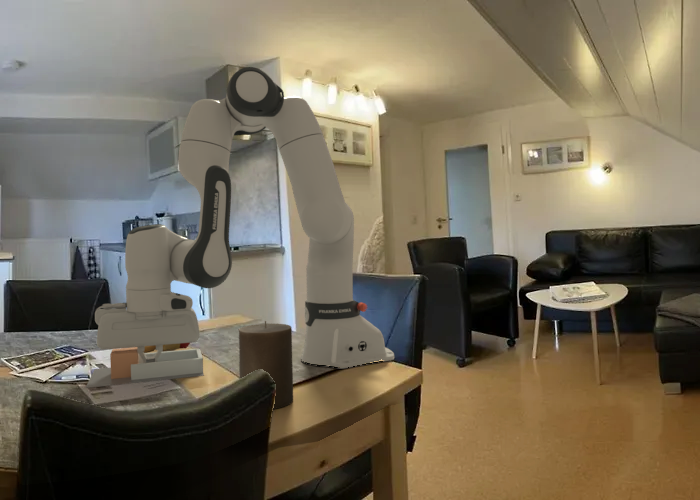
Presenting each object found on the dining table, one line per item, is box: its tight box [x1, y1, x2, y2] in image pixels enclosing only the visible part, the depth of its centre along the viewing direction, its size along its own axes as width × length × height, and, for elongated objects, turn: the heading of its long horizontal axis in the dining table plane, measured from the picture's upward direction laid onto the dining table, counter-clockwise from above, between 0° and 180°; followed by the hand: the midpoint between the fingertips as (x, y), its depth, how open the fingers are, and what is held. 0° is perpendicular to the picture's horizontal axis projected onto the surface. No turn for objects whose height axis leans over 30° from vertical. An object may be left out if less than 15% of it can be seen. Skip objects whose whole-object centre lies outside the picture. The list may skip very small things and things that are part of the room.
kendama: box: [138, 343, 191, 354], centre depth 131 cm, size 8×6×18 cm
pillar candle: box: [237, 320, 294, 410], centre depth 95 cm, size 10×10×15 cm
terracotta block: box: [110, 347, 139, 379], centre depth 108 cm, size 5×5×5 cm
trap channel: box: [85, 348, 205, 389], centre depth 110 cm, size 22×14×4 cm, turn 110°
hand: (150, 366), depth 110 cm, fingers closed
